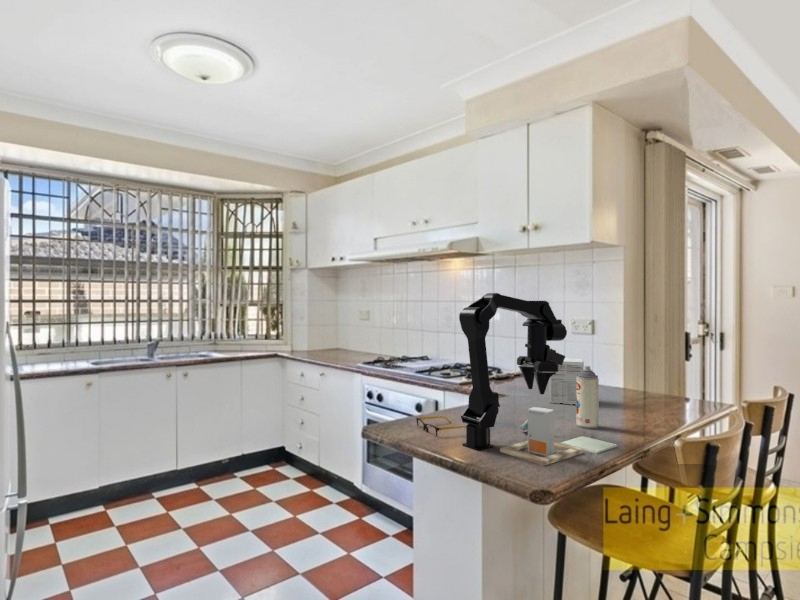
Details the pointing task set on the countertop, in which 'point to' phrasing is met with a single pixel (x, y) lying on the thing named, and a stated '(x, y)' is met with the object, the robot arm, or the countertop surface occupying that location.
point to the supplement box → (565, 381)
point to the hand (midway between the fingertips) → (536, 391)
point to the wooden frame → (566, 453)
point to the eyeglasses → (434, 426)
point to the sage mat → (590, 444)
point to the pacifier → (524, 425)
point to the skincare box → (541, 431)
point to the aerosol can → (587, 399)
